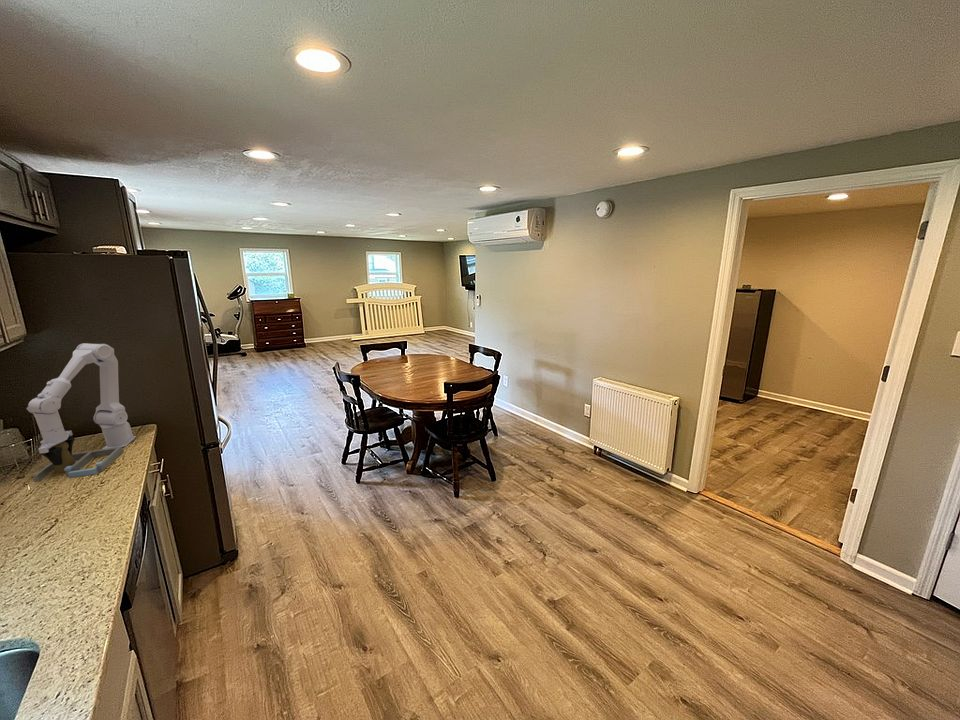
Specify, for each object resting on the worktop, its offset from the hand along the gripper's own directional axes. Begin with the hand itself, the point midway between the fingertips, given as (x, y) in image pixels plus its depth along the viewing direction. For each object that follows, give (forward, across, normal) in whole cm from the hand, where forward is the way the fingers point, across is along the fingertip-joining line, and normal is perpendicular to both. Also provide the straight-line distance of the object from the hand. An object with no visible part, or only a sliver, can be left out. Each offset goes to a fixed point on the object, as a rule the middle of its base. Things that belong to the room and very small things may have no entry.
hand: (63, 461), depth 143 cm
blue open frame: (+3, 0, +4) cm, 6 cm away
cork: (+4, 0, 0) cm, 4 cm away
